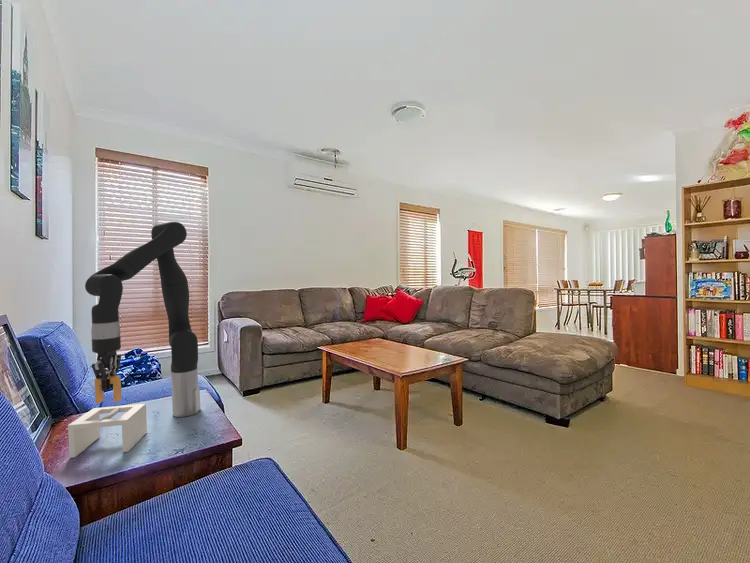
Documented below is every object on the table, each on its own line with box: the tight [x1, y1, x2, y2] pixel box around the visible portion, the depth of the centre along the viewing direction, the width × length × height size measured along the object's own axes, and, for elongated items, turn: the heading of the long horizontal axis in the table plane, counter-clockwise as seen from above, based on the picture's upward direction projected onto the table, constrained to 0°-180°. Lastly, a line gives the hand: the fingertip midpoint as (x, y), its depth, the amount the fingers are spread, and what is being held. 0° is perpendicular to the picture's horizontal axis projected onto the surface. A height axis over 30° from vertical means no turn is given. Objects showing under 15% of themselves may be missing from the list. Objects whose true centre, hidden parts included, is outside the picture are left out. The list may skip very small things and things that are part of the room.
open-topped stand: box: [67, 403, 148, 459], centre depth 118 cm, size 16×14×10 cm
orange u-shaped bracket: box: [94, 374, 123, 404], centre depth 118 cm, size 6×2×8 cm, turn 101°
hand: (108, 388), depth 118 cm, fingers closed on orange u-shaped bracket, 2 cm apart
